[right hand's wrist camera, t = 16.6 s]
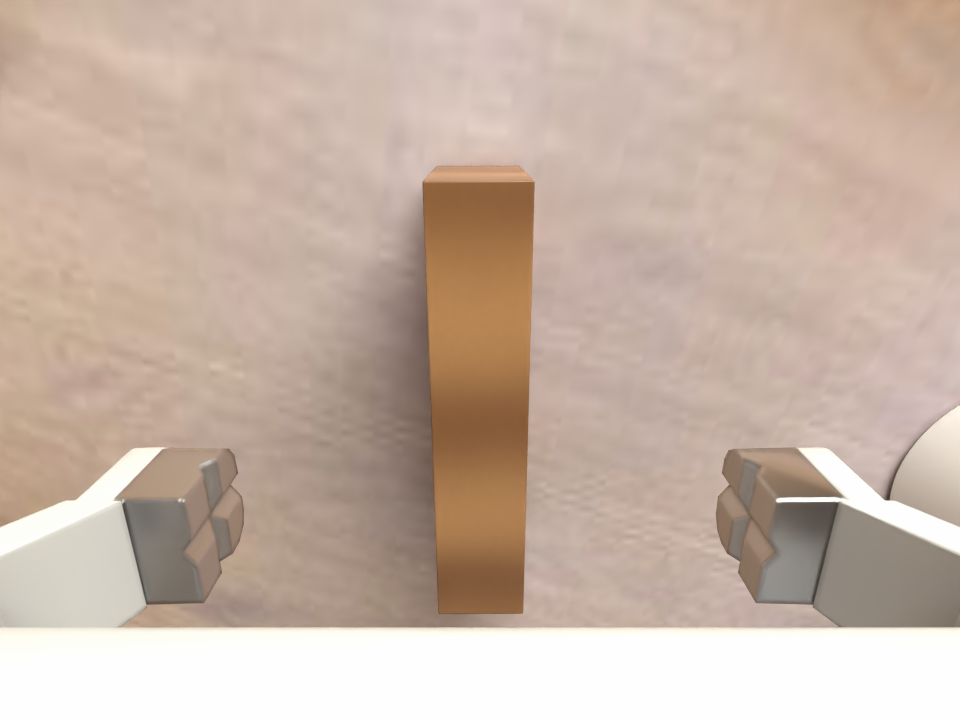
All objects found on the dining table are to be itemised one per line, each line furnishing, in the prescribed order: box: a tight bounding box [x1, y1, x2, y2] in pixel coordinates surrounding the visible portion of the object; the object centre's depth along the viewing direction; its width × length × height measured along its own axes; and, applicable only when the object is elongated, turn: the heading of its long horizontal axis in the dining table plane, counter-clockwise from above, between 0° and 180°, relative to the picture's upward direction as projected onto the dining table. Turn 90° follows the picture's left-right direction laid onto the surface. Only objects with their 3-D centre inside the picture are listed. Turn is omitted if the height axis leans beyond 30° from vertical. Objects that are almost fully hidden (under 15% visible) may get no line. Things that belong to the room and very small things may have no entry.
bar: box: [423, 166, 535, 614], centre depth 33 cm, size 22×4×9 cm, turn 0°
